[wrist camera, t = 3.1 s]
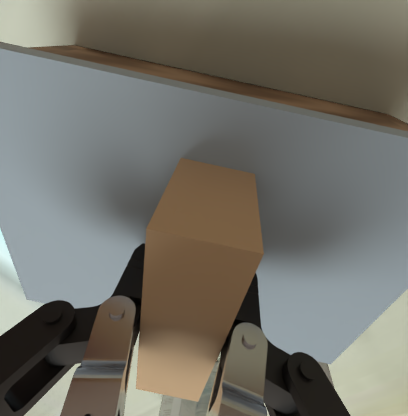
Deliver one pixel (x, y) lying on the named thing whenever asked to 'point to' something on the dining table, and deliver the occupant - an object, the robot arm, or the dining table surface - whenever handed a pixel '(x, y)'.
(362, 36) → the dining table surface
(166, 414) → the supplement box
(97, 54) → the box
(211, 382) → the skincare box
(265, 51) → the dining table surface
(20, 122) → the lid
